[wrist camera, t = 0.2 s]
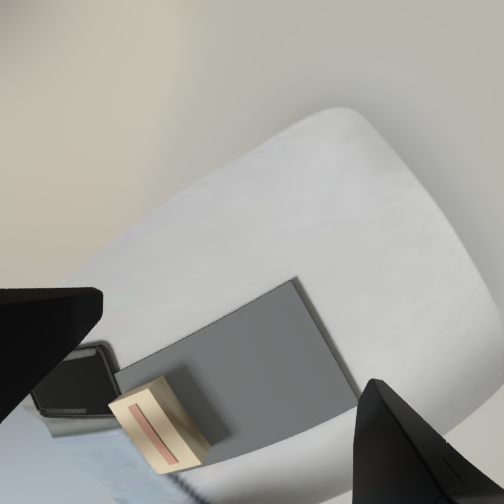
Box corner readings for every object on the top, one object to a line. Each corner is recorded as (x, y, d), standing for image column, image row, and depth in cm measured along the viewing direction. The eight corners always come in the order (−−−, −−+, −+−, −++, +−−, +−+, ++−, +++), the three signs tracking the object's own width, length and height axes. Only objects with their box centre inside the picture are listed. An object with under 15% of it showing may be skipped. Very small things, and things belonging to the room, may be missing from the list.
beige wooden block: (211, 446, 24) (201, 464, 21) (170, 458, 24) (158, 475, 21) (162, 375, 25) (147, 388, 21) (124, 392, 25) (107, 405, 22)
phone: (17, 358, 27) (100, 343, 25) (23, 356, 28) (107, 341, 26) (40, 417, 27) (130, 418, 25) (46, 414, 28) (135, 414, 26)
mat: (172, 471, 25) (170, 474, 24) (106, 377, 26) (103, 379, 25) (358, 401, 23) (359, 404, 22) (290, 280, 24) (290, 280, 23)
